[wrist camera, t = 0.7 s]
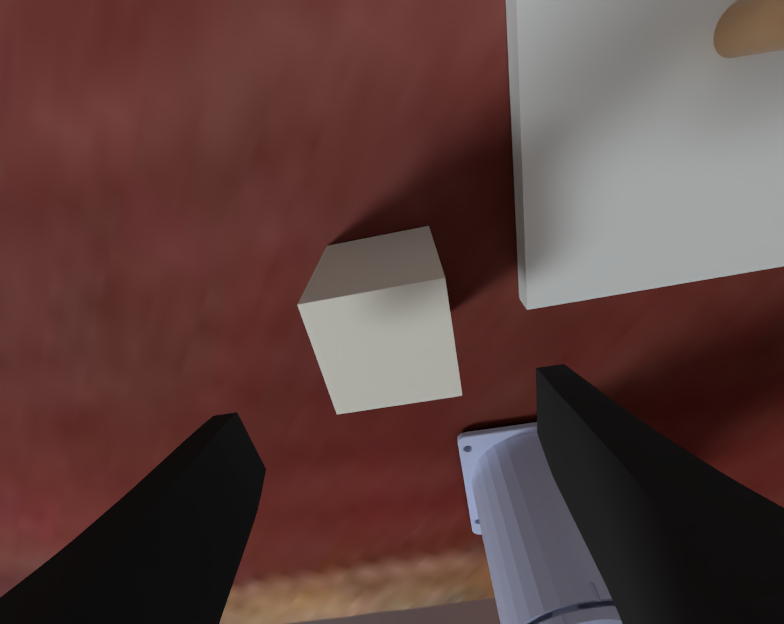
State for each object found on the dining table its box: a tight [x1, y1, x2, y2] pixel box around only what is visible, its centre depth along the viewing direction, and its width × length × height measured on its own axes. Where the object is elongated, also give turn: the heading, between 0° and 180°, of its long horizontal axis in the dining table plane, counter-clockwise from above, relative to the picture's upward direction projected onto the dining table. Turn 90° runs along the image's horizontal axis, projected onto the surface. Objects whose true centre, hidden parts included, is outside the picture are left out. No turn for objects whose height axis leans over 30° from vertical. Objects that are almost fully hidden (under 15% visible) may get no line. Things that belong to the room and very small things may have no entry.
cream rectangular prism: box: [298, 226, 462, 414], centre depth 15 cm, size 5×5×6 cm
